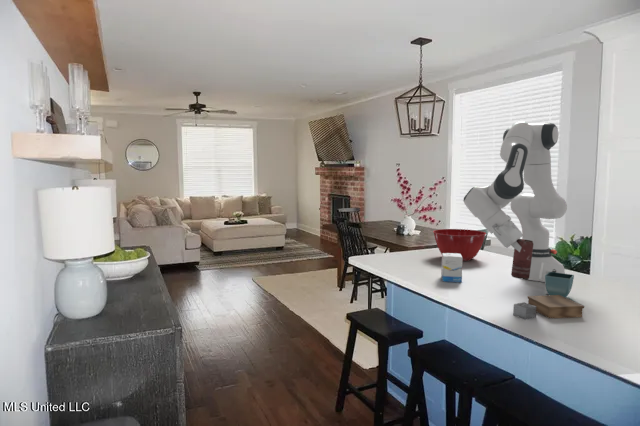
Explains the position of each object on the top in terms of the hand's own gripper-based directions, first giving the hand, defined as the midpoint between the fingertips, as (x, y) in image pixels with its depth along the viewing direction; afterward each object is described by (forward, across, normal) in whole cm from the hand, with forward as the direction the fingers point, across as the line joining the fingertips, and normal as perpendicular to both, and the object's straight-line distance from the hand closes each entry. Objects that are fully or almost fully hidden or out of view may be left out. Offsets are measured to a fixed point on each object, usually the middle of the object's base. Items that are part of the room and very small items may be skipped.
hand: (524, 251), depth 154 cm
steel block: (+16, -13, +12) cm, 24 cm away
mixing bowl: (-16, +70, +46) cm, 85 cm away
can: (+6, -1, +8) cm, 10 cm away
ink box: (-9, +21, +38) cm, 44 cm away
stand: (+22, -2, +7) cm, 23 cm away
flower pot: (+22, +18, +7) cm, 29 cm away
